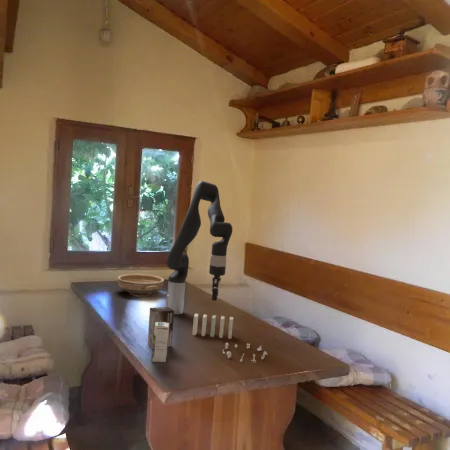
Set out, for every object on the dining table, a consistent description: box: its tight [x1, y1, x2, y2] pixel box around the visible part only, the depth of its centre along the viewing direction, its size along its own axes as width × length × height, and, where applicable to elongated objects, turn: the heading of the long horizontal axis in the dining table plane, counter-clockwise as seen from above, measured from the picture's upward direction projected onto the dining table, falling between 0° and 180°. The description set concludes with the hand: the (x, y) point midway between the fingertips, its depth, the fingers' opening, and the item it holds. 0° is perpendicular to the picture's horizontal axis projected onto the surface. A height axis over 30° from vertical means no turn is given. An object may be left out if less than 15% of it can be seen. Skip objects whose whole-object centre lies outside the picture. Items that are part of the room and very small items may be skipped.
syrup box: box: [151, 322, 169, 363], centre depth 191 cm, size 6×6×14 cm
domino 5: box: [227, 316, 234, 340], centre depth 228 cm, size 2×5×9 cm, turn 177°
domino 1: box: [192, 313, 199, 336], centre depth 229 cm, size 2×5×9 cm, turn 177°
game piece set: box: [222, 342, 268, 363], centre depth 206 cm, size 19×20×4 cm
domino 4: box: [218, 315, 225, 339], centre depth 228 cm, size 2×5×9 cm, turn 177°
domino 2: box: [201, 313, 208, 337], centre depth 229 cm, size 2×5×9 cm, turn 177°
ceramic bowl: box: [117, 273, 165, 297], centre depth 299 cm, size 37×29×10 cm
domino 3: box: [209, 314, 217, 338], centre depth 228 cm, size 2×5×9 cm, turn 177°
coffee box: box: [147, 306, 175, 348], centre depth 208 cm, size 9×6×16 cm
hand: (214, 298), depth 227 cm, fingers open, 8 cm apart
